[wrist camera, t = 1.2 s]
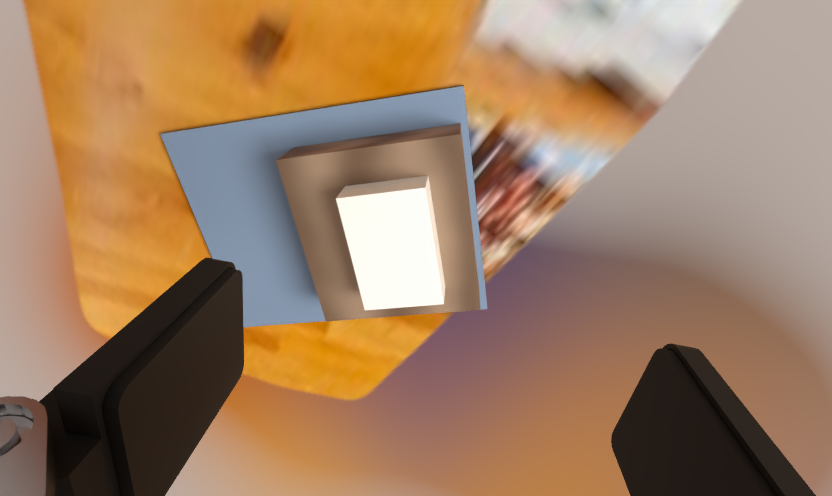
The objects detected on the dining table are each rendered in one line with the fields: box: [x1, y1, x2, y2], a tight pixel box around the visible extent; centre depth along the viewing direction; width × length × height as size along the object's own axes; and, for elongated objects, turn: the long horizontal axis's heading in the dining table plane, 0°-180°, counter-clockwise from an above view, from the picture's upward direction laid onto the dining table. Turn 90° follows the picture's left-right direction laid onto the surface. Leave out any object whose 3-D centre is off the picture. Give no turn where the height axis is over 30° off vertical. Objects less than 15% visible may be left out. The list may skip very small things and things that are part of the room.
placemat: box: [160, 85, 487, 327], centre depth 36 cm, size 24×19×1 cm
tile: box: [336, 176, 445, 310], centre depth 31 cm, size 6×9×2 cm, turn 9°
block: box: [276, 123, 480, 321], centre depth 34 cm, size 13×14×4 cm
